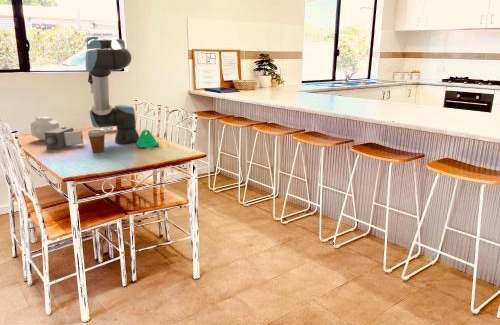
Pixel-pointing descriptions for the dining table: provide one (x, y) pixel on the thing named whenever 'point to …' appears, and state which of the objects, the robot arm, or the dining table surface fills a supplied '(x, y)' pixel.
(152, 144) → the green triangular piece
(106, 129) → the white piece
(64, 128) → the box
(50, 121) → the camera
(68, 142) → the side door
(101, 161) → the dining table surface
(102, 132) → the disposable coffee cup
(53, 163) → the dining table surface
